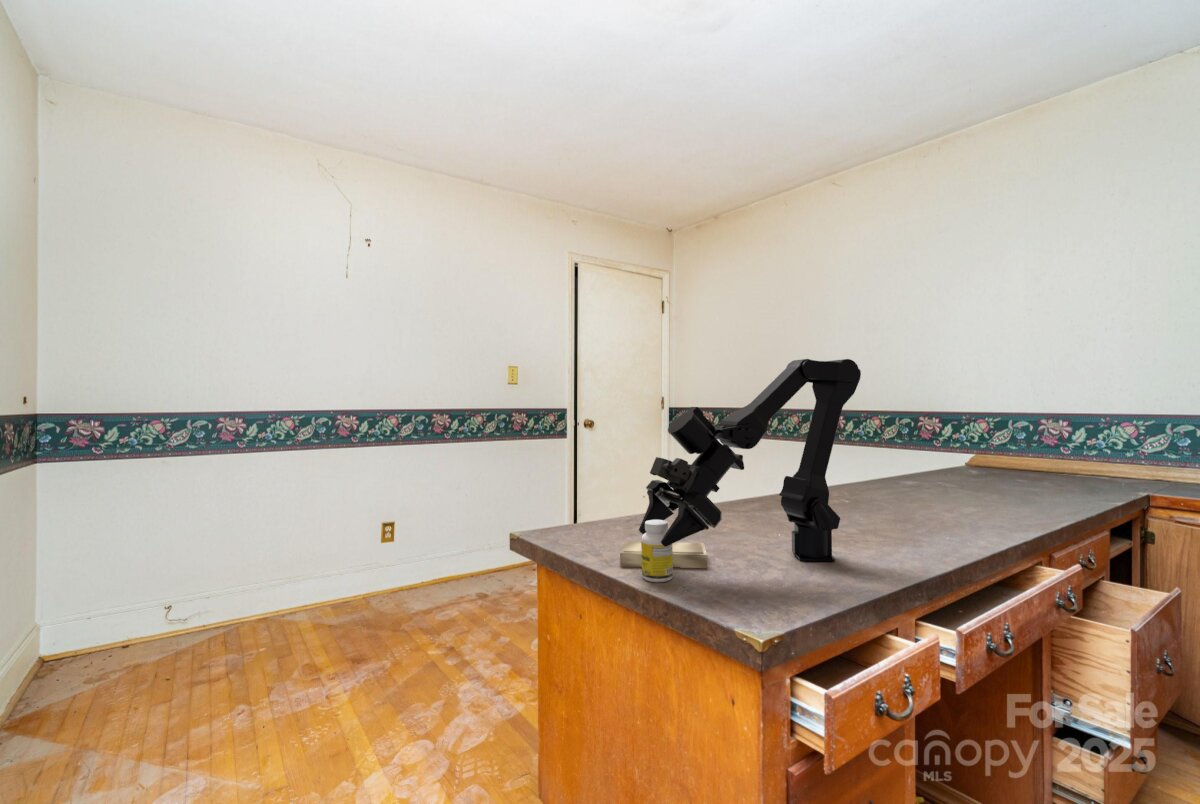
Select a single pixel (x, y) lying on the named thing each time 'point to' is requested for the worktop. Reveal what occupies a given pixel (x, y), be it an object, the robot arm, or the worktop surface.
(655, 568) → the supplement bottle
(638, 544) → the birch plinth
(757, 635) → the worktop surface
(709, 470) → the robot arm
